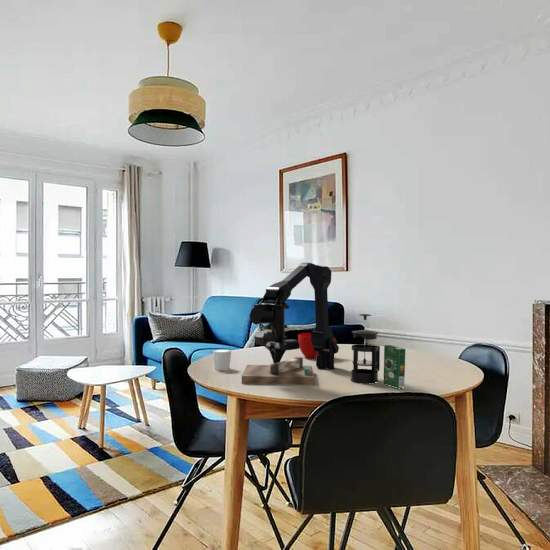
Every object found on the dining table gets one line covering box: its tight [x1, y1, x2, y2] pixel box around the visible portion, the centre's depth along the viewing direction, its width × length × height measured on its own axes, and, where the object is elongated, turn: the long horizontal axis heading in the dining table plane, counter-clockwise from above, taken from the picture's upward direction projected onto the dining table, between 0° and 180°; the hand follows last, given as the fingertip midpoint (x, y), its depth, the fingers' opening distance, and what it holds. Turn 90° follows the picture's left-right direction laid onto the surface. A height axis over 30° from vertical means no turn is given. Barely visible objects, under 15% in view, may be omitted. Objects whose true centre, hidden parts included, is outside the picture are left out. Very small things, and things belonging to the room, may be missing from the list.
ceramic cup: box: [297, 332, 337, 360], centre depth 208 cm, size 13×17×10 cm
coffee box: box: [383, 344, 406, 388], centre depth 153 cm, size 8×3×13 cm, turn 23°
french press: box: [350, 313, 381, 385], centre depth 162 cm, size 12×9×23 cm
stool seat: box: [241, 364, 315, 386], centre depth 165 cm, size 24×20×4 cm
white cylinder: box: [212, 349, 232, 371], centre depth 179 cm, size 7×7×7 cm
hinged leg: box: [269, 356, 304, 374], centre depth 165 cm, size 18×3×3 cm, turn 144°
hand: (276, 366), depth 164 cm, fingers closed
